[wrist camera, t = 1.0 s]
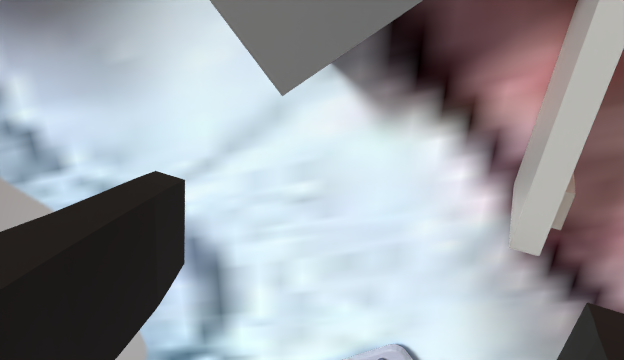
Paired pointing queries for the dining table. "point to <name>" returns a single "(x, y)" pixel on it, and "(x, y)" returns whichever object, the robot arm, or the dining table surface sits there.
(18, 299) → the robot arm
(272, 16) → the grey switch box
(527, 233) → the side door
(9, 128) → the dining table surface
